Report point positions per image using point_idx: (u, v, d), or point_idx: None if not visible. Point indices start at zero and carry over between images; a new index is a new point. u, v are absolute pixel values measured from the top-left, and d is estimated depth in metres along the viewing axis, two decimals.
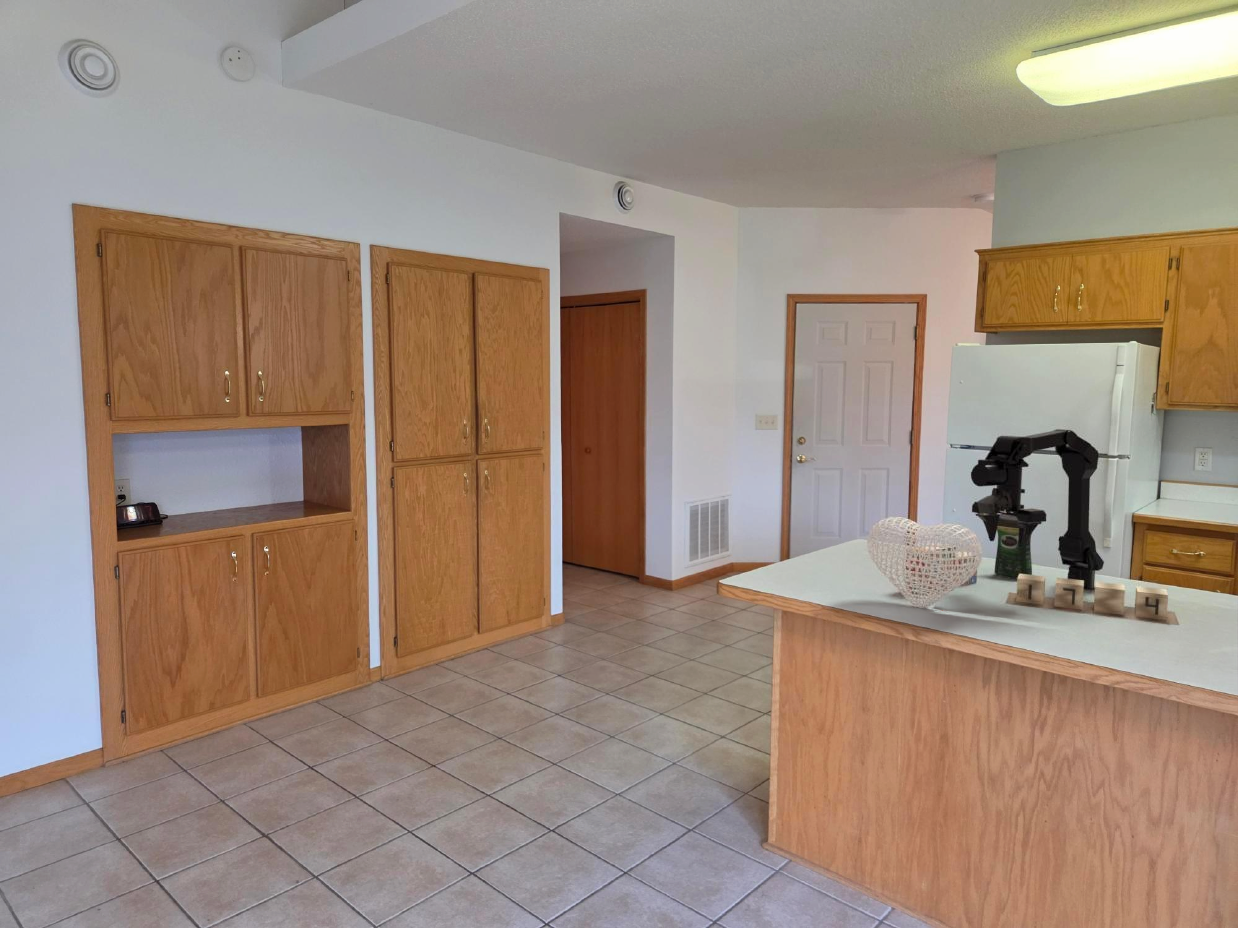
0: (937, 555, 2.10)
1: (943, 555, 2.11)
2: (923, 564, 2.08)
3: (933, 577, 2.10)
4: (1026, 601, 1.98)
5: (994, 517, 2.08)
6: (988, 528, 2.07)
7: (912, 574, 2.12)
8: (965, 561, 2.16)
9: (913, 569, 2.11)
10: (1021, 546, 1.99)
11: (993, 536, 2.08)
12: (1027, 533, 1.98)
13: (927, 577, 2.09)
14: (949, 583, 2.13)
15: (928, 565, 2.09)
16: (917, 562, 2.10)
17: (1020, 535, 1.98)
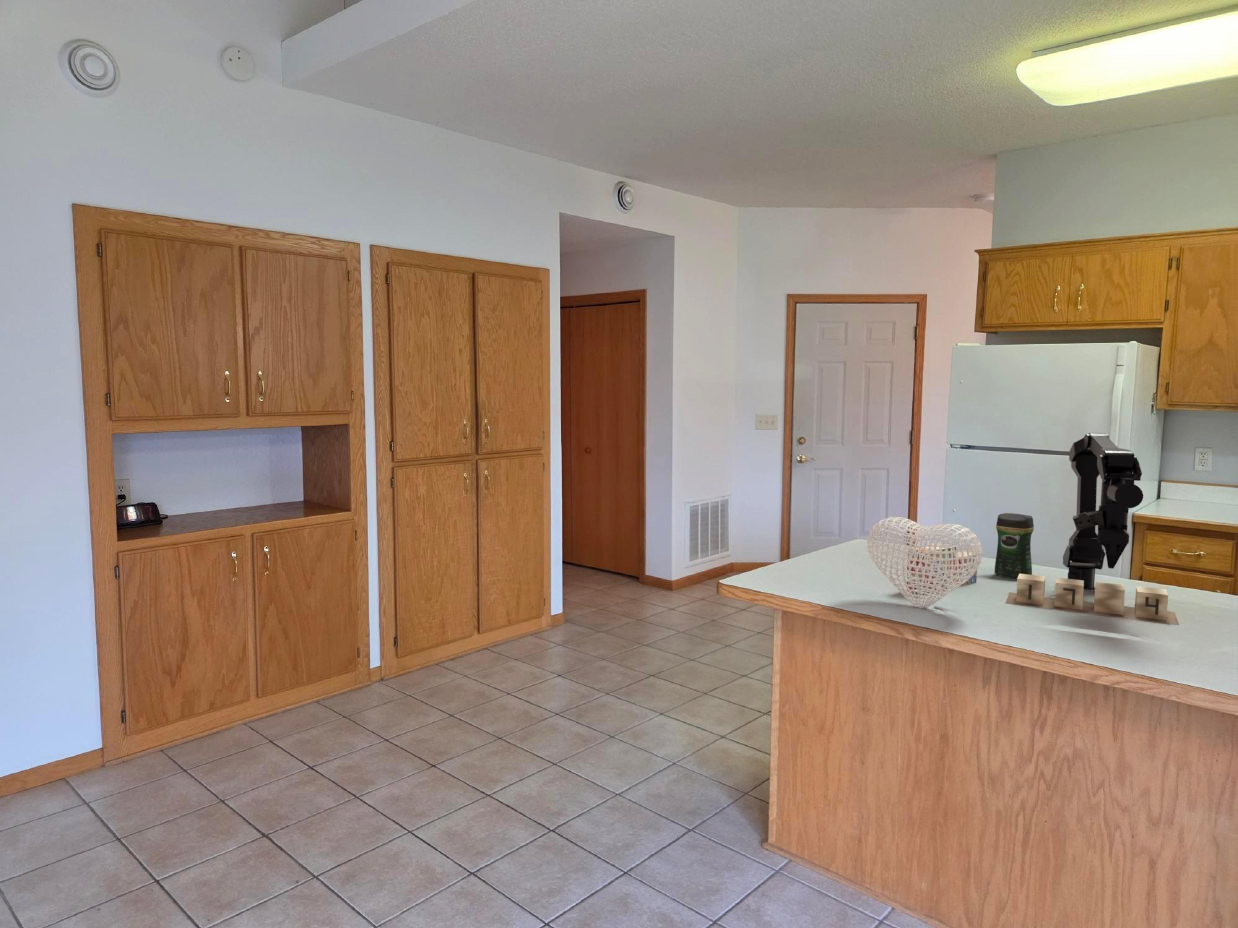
0: (939, 555, 2.10)
1: (944, 555, 2.11)
2: None
3: (935, 577, 2.10)
4: (1026, 601, 1.98)
5: None
6: None
7: (914, 574, 2.11)
8: (965, 561, 2.16)
9: None
10: (1109, 566, 1.88)
11: None
12: (1114, 553, 1.86)
13: None
14: None
15: None
16: None
17: (1106, 554, 1.88)
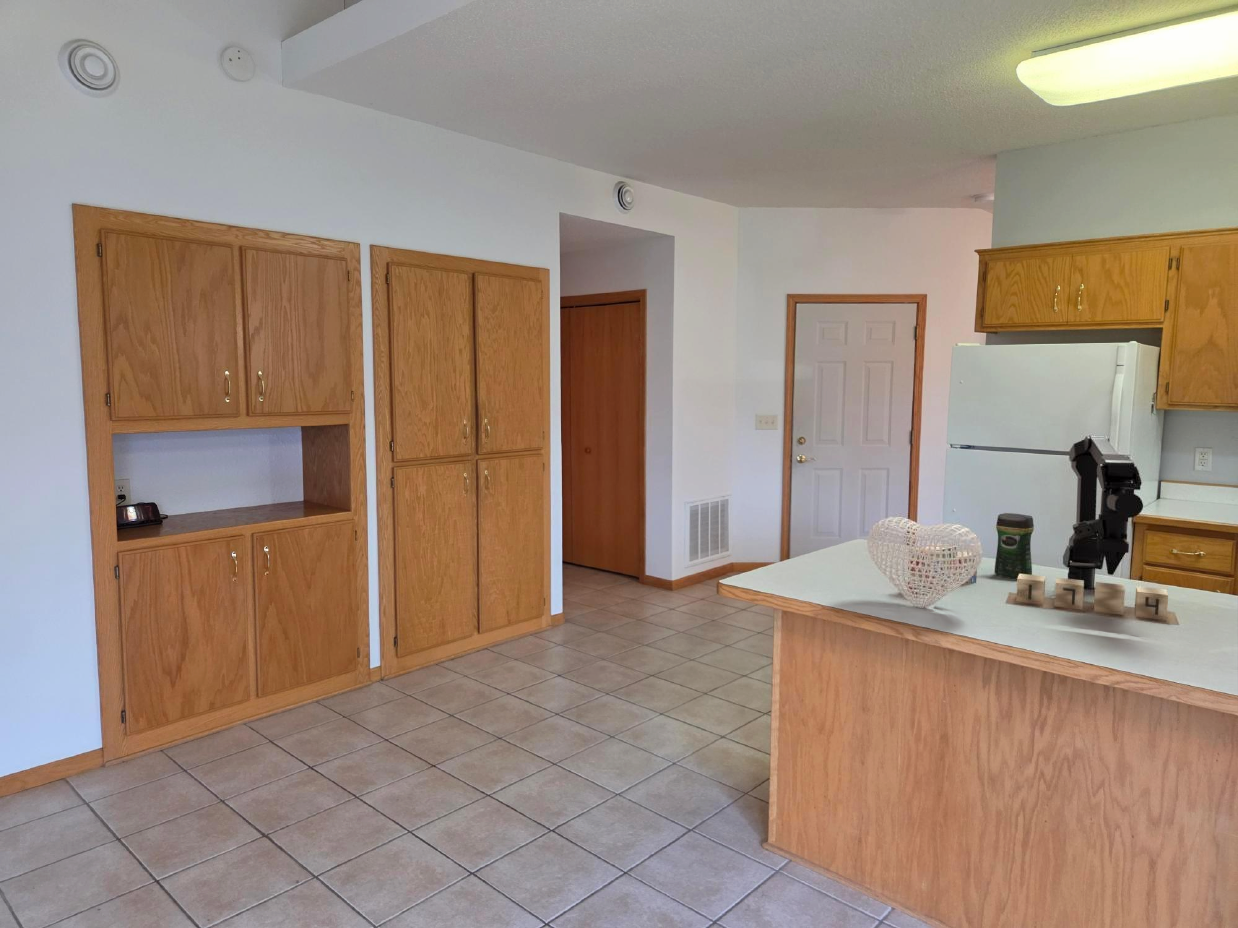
0: (939, 555, 2.10)
1: (945, 555, 2.11)
2: None
3: None
4: (1026, 601, 1.98)
5: None
6: None
7: (915, 574, 2.11)
8: (966, 561, 2.16)
9: None
10: (1109, 573, 1.91)
11: None
12: (1114, 560, 1.89)
13: None
14: None
15: None
16: None
17: None
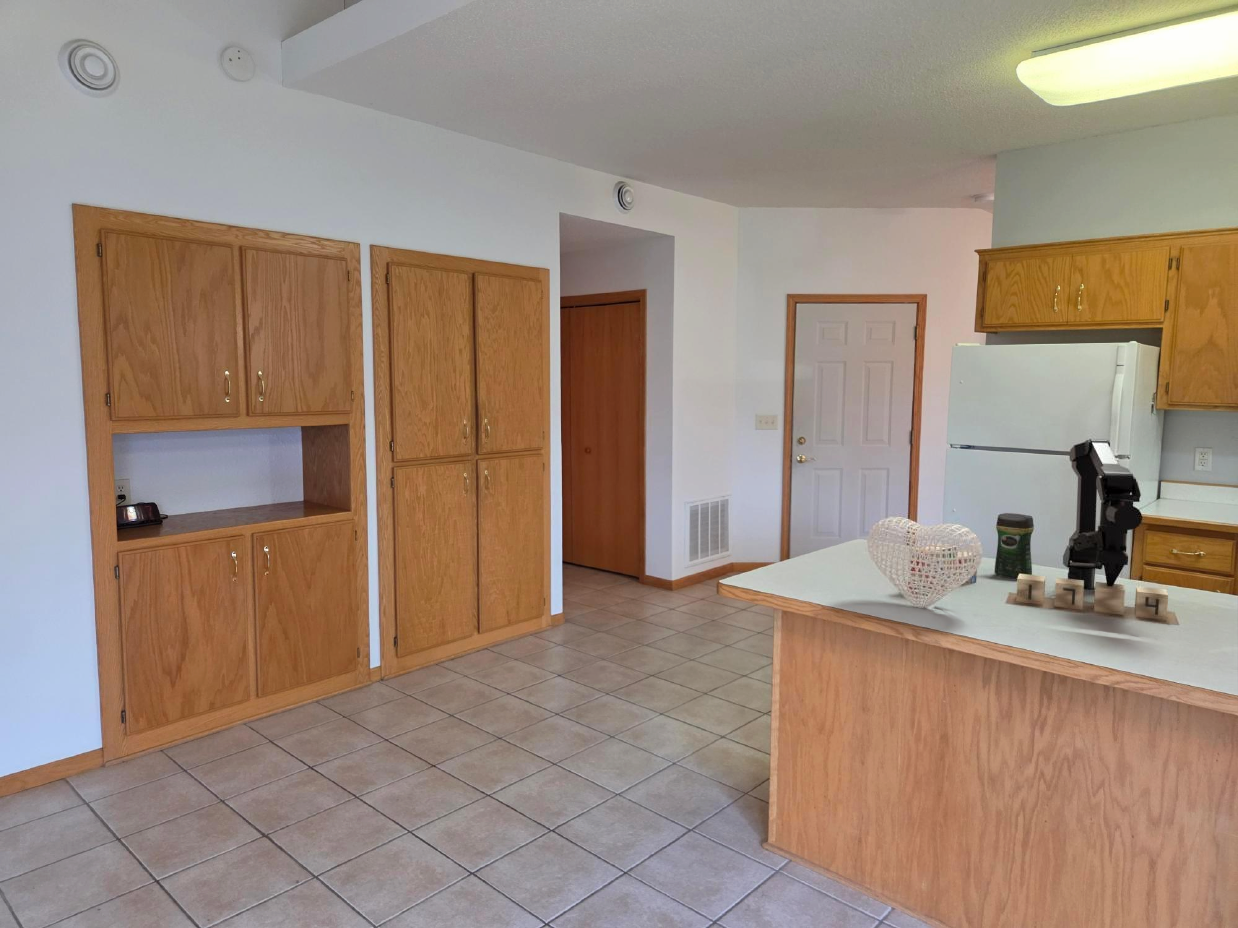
0: None
1: None
2: (927, 564, 2.08)
3: None
4: (1026, 601, 1.98)
5: None
6: None
7: (915, 575, 2.11)
8: (966, 561, 2.16)
9: None
10: (1108, 584, 1.91)
11: None
12: (1113, 572, 1.89)
13: None
14: None
15: None
16: (921, 562, 2.09)
17: (1105, 572, 1.91)
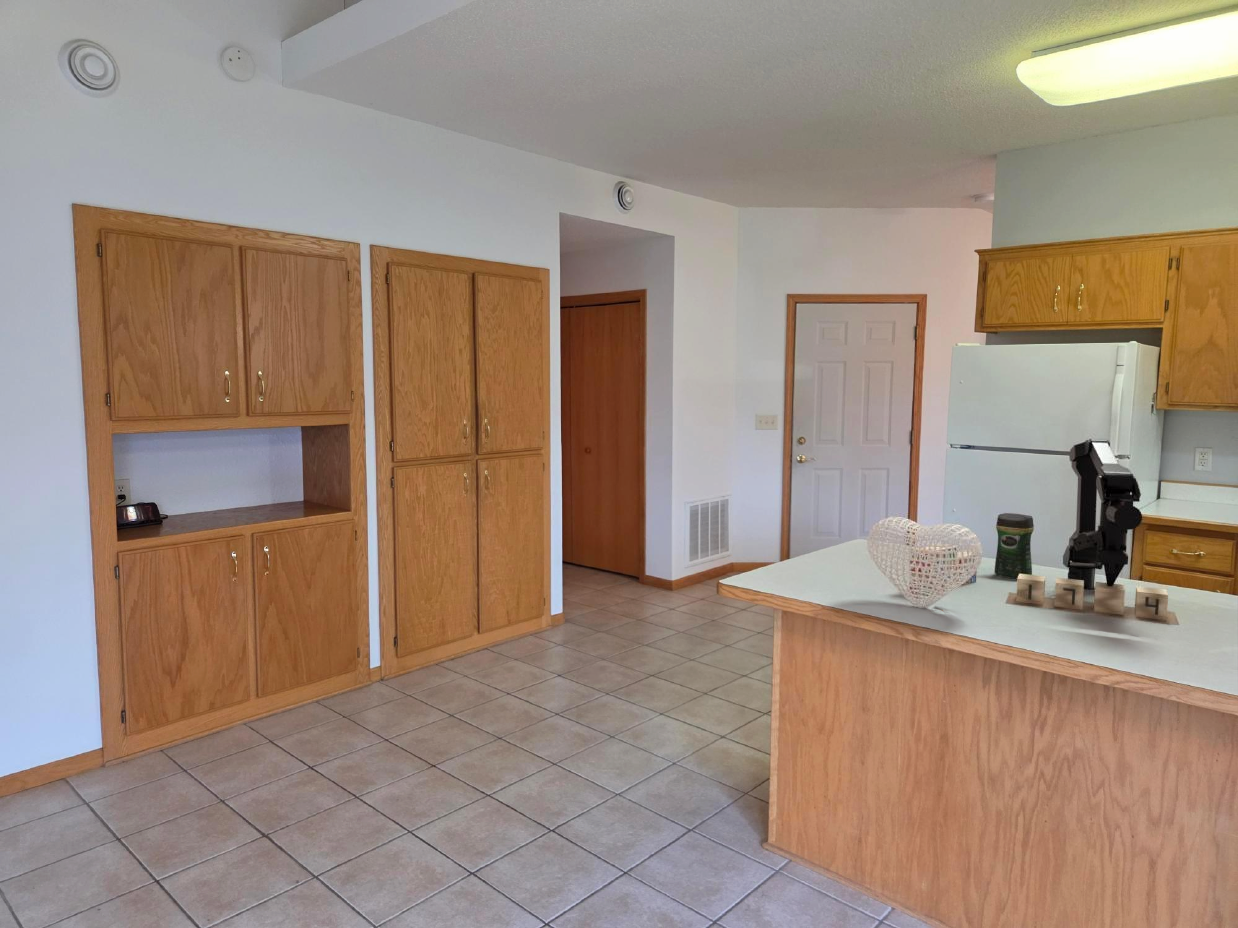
0: None
1: (947, 555, 2.11)
2: (929, 565, 2.08)
3: (938, 577, 2.10)
4: (1026, 601, 1.98)
5: None
6: None
7: None
8: (966, 561, 2.16)
9: (918, 570, 2.11)
10: (1108, 584, 1.91)
11: None
12: (1113, 571, 1.89)
13: (932, 578, 2.09)
14: None
15: None
16: (922, 563, 2.09)
17: (1105, 572, 1.91)
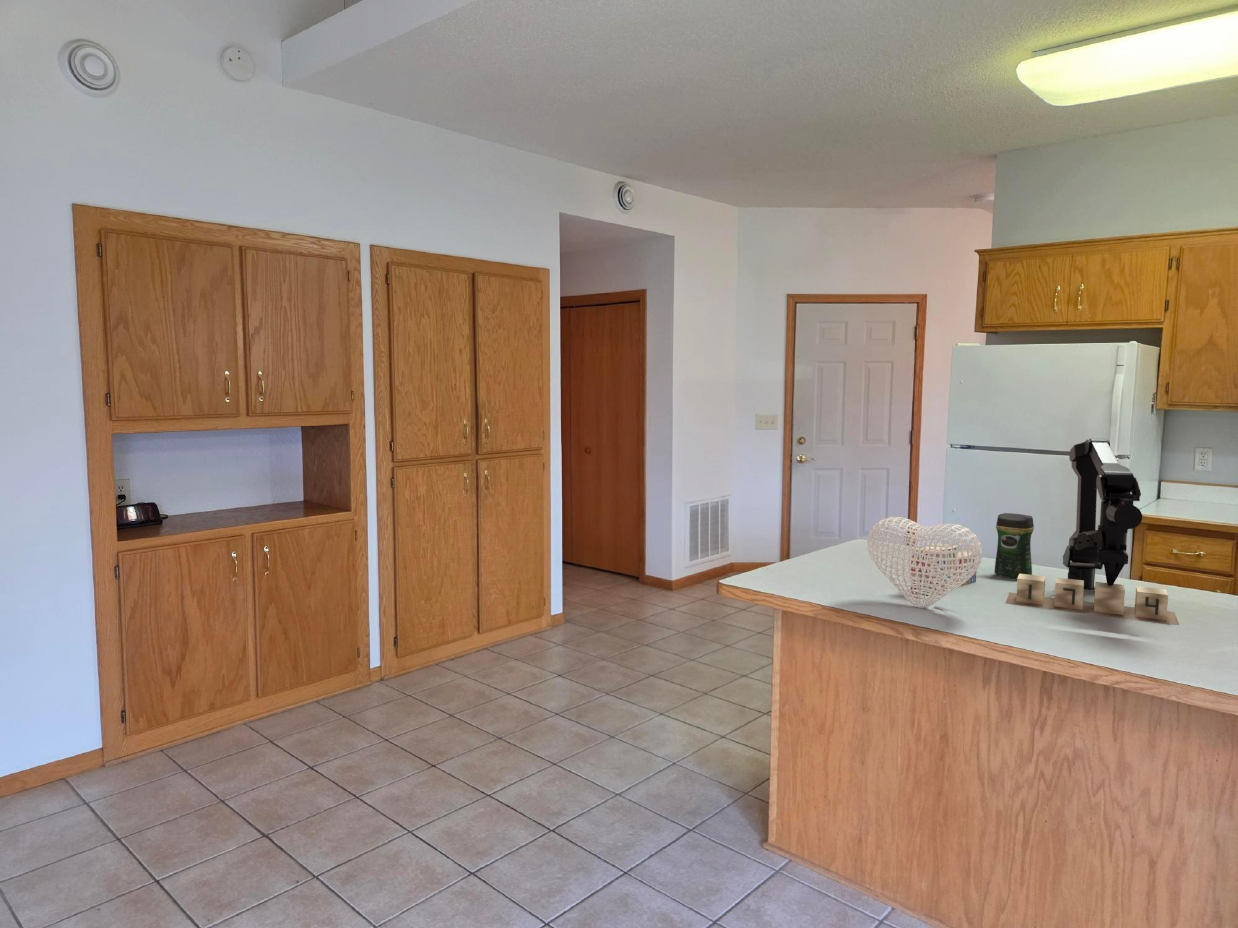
0: (942, 555, 2.10)
1: None
2: None
3: None
4: (1026, 601, 1.98)
5: None
6: None
7: (918, 575, 2.11)
8: (966, 561, 2.16)
9: (919, 570, 2.10)
10: (1108, 584, 1.91)
11: None
12: (1113, 571, 1.89)
13: (934, 578, 2.09)
14: None
15: None
16: (924, 563, 2.09)
17: (1105, 572, 1.91)
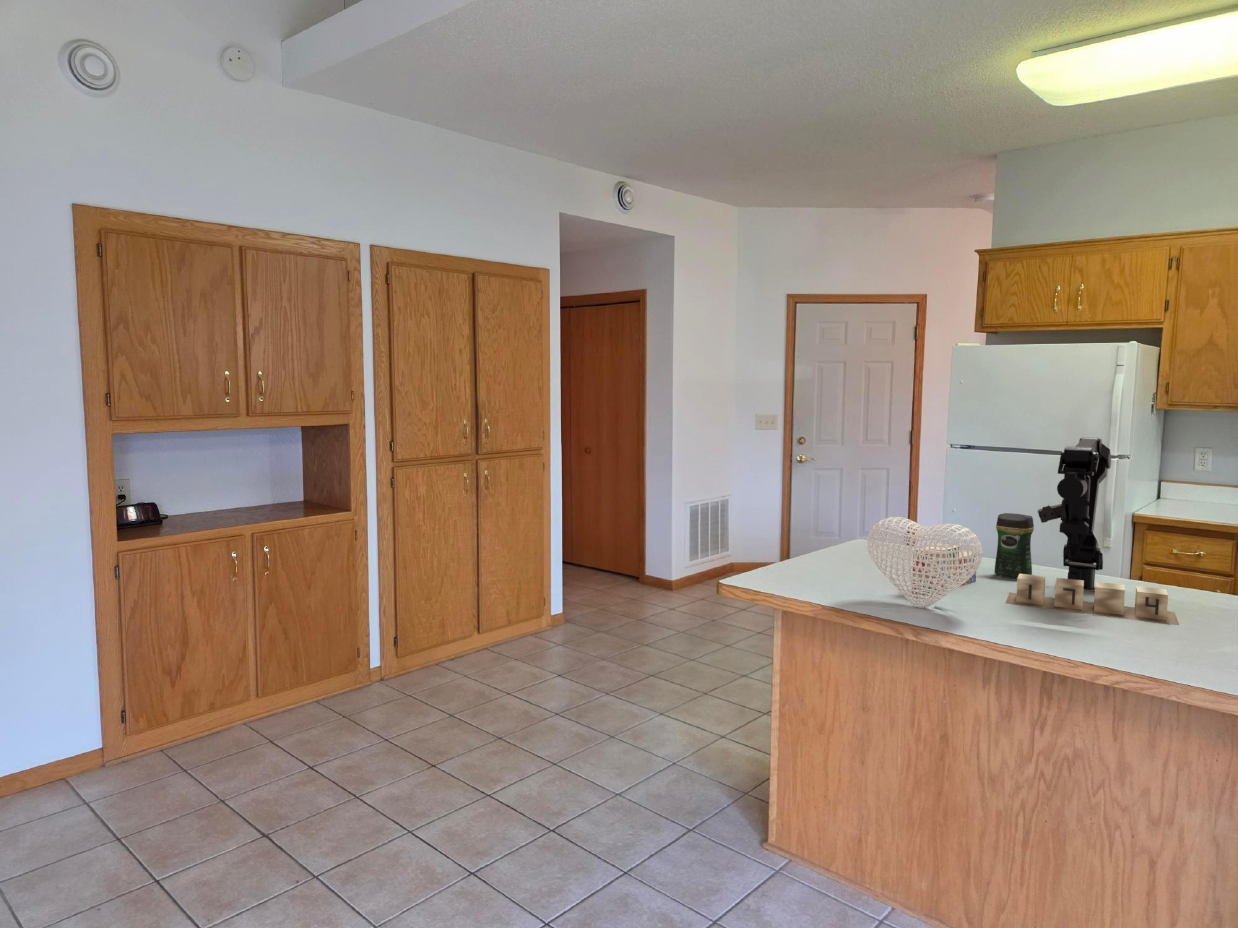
0: (944, 555, 2.10)
1: (949, 555, 2.11)
2: None
3: None
4: (1026, 601, 1.98)
5: None
6: None
7: (920, 575, 2.10)
8: None
9: None
10: (1072, 554, 2.01)
11: None
12: (1076, 542, 2.00)
13: None
14: None
15: None
16: None
17: None
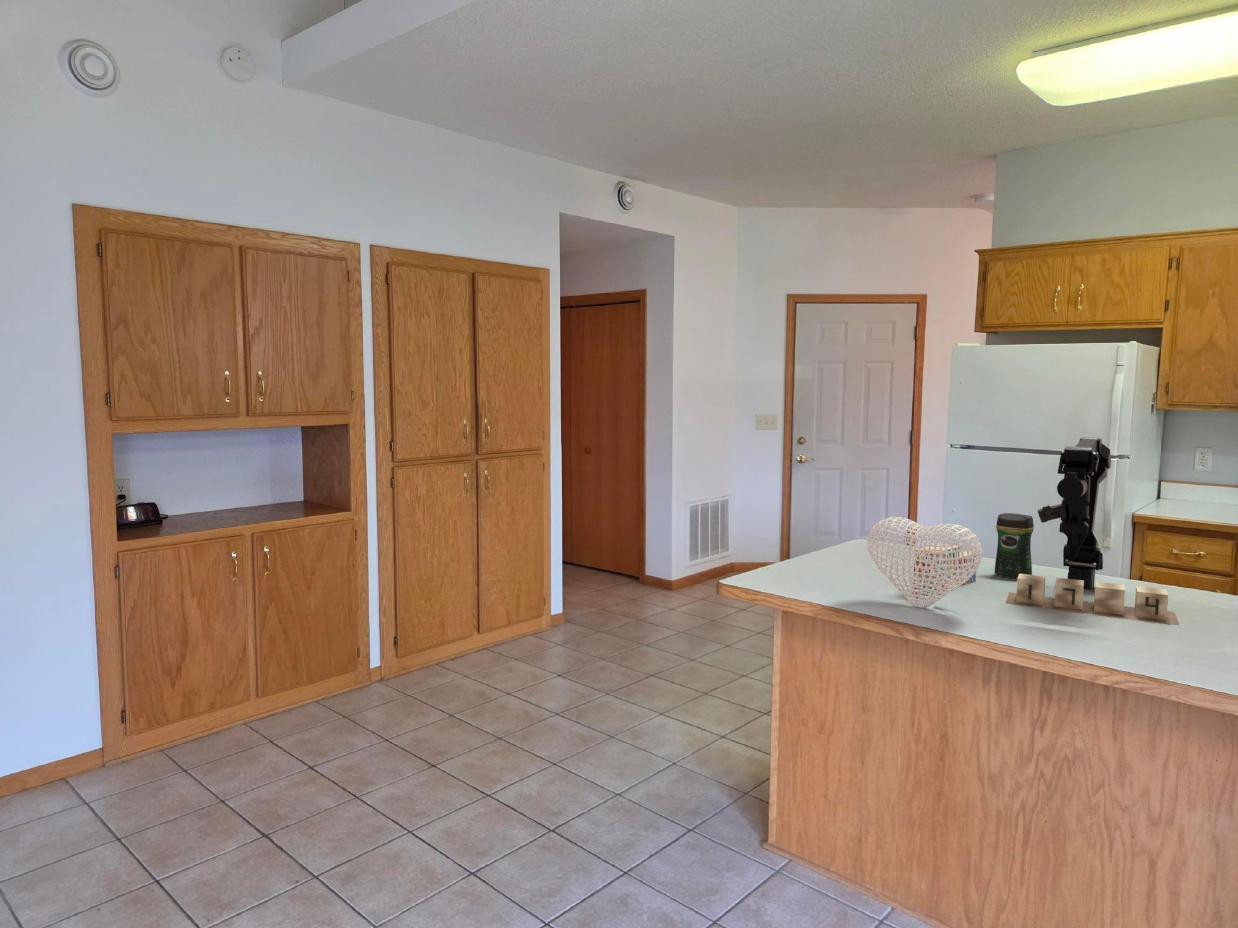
0: (945, 556, 2.10)
1: (950, 555, 2.11)
2: None
3: None
4: (1026, 601, 1.98)
5: None
6: None
7: (921, 575, 2.10)
8: None
9: None
10: (1072, 554, 2.01)
11: None
12: (1076, 542, 2.00)
13: None
14: None
15: None
16: (927, 563, 2.08)
17: None
